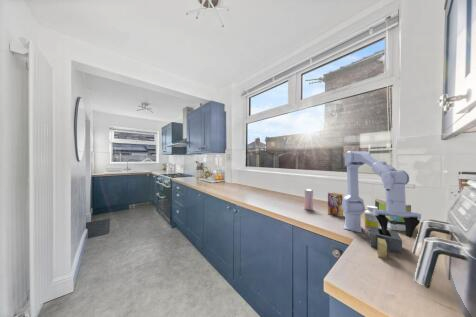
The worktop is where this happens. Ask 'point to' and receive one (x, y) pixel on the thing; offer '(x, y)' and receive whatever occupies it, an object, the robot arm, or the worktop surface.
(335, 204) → the candy box
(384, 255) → the yellow flat block
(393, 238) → the coin box
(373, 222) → the supplement bottle
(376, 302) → the worktop surface
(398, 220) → the tea box
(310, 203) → the beverage can
